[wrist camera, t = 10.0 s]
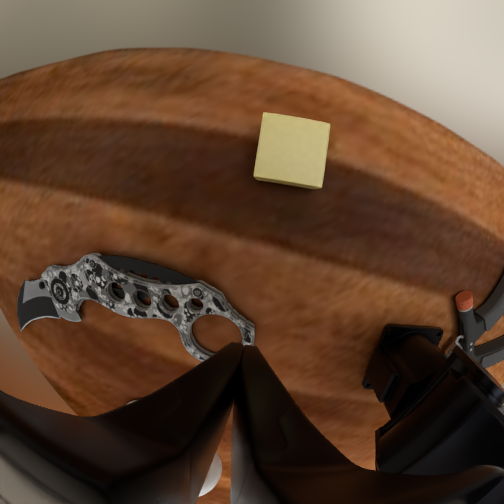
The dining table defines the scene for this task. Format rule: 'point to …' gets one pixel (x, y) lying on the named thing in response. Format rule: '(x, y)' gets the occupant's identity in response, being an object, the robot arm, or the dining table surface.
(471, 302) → the hand grip strengthener
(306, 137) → the butter
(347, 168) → the dining table surface
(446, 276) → the dining table surface
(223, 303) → the knife
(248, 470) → the robot arm
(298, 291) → the dining table surface
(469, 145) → the dining table surface
